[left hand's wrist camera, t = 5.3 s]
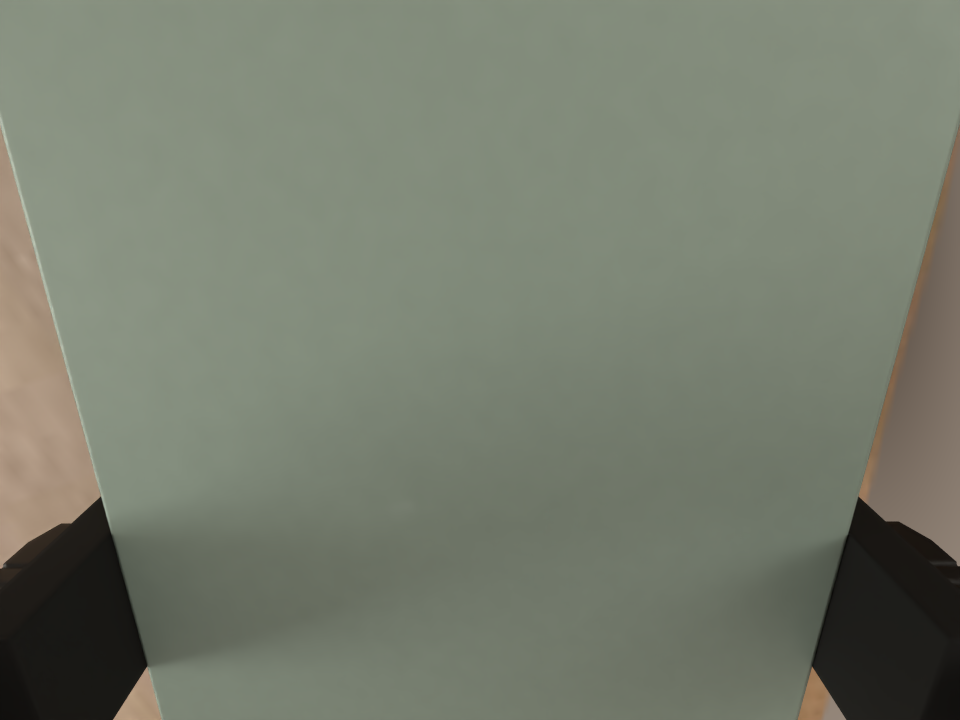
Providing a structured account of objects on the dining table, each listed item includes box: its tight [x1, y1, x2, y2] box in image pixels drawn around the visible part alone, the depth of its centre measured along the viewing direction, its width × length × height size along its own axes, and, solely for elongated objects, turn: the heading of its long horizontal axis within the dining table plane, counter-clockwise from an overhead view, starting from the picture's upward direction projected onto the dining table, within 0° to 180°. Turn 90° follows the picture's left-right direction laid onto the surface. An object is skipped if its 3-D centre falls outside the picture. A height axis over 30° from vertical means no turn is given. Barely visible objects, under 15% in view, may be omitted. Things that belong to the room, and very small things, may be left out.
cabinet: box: [0, 0, 960, 720], centre depth 11 cm, size 19×11×8 cm, turn 0°
